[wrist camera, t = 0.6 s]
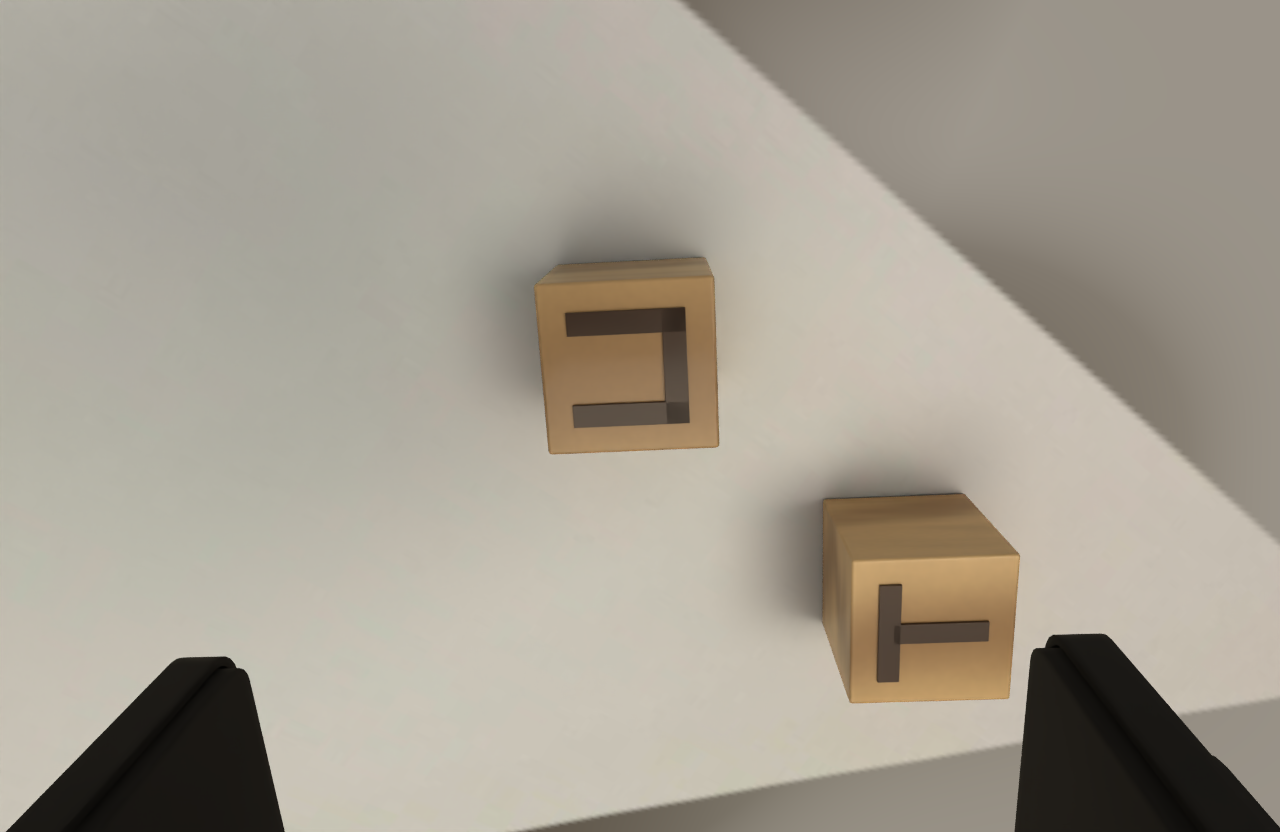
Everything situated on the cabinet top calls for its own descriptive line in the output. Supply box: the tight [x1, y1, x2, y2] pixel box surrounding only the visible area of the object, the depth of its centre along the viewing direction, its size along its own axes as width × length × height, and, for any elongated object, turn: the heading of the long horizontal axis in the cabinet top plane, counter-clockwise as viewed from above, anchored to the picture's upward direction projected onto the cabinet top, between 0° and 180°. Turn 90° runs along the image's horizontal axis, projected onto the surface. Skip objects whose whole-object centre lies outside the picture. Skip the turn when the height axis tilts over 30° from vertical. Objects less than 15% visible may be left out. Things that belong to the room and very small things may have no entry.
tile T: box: [822, 494, 1020, 703], centre depth 26 cm, size 4×4×5 cm
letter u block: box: [534, 257, 719, 454], centre depth 24 cm, size 4×4×5 cm
